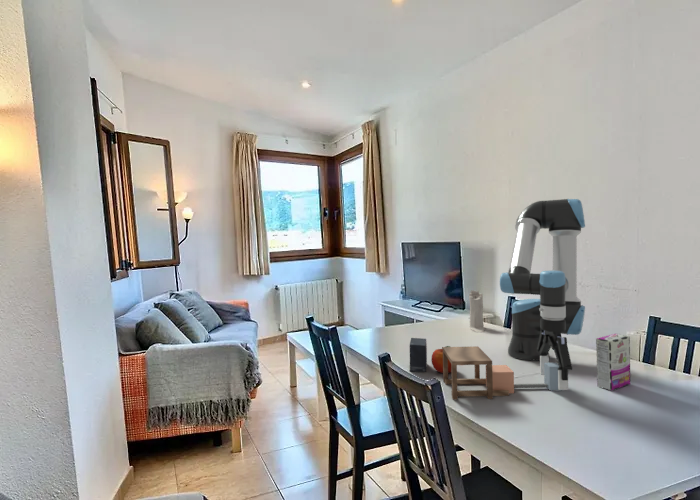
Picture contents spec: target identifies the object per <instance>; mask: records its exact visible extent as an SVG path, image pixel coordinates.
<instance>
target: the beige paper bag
mask: <svg viewBox="0 0 700 500" xmlns="http://www.w3.org/2000/svg"><path fill="white" fill-rule="evenodd" d="M483 295H484V294H483V293H482V292H481V293H480V291H479V290H470V293H469V296H468V297H469V299H468V300H469V328H470V330H471V331H472V332H476V333H484V331H485V330H486V329H485V327H484V311H483V310H484V301H483Z"/></svg>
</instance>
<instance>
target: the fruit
mask: <svg viewBox="0 0 700 500" xmlns="http://www.w3.org/2000/svg"><path fill="white" fill-rule="evenodd" d="M443 347H444V346H442V347H441V348H438V349H435V350H434V351H433V352H432V354H431V361H430V362H431V365H432V367H433V368H434V370H435V371H436V372H438V373H441V374H443ZM445 347H451V346H450V345H446V346H445ZM450 373H452V371H451V362H450V361H449V359H448V374H450Z"/></svg>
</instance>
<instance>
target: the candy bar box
mask: <svg viewBox="0 0 700 500" xmlns="http://www.w3.org/2000/svg"><path fill="white" fill-rule="evenodd" d="M630 339H631V338H630V335H626V334H621V333H612V334H609V335H605V336H602V337H601V336H600V337H597V338H595V340H596V342H595V344H596V378H597V379H596V381H597V382H596V383H597V387H598V386H600V387H603V388H602V389H604V388H605V389H604V390H607V389H608V390H607V391H610V390H611V392H612V390H613V391H615V389H616V390H618V389H621V388H623V387H626V386H628V385H631V384H632V383H631V344H630V343H631V341H630ZM600 387H599V388H600Z"/></svg>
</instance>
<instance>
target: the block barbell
mask: <svg viewBox="0 0 700 500" xmlns="http://www.w3.org/2000/svg"><path fill="white" fill-rule="evenodd" d="M558 368H559V365H558V362H549V363H544V375H543V376H544V379H543V381H544V383H515V372H514V371H513V370H512V369H511V368H510V366H508V365H507V364H496V365H495V364H492V380H493V390H509V394H514V393H515V389H543V388H546V389H547V390H548V389H549V390H551V391H550V392H553V391H552V390H559V389H558ZM485 378H486V384H485V387H487V369H486V368H485ZM549 390H548V391H549Z"/></svg>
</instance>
